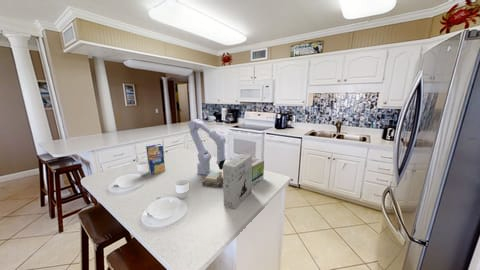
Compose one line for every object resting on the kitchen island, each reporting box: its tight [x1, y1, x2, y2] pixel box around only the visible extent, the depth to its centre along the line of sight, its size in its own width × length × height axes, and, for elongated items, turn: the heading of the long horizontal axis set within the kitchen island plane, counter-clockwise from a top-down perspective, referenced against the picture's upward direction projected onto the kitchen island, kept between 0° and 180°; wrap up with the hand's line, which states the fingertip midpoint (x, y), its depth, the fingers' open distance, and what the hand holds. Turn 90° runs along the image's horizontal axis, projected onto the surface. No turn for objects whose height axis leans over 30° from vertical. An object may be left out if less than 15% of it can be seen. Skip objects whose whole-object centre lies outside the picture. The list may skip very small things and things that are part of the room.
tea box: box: [252, 157, 265, 187], centre depth 130 cm, size 15×10×15 cm, turn 143°
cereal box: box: [222, 153, 253, 210], centre depth 106 cm, size 22×8×25 cm, turn 151°
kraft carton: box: [204, 170, 223, 183], centre depth 131 cm, size 8×12×5 cm, turn 166°
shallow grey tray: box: [201, 178, 223, 189], centre depth 130 cm, size 13×15×2 cm
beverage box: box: [146, 143, 166, 175], centre depth 145 cm, size 7×11×22 cm, turn 129°
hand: (221, 169), depth 139 cm, fingers closed
